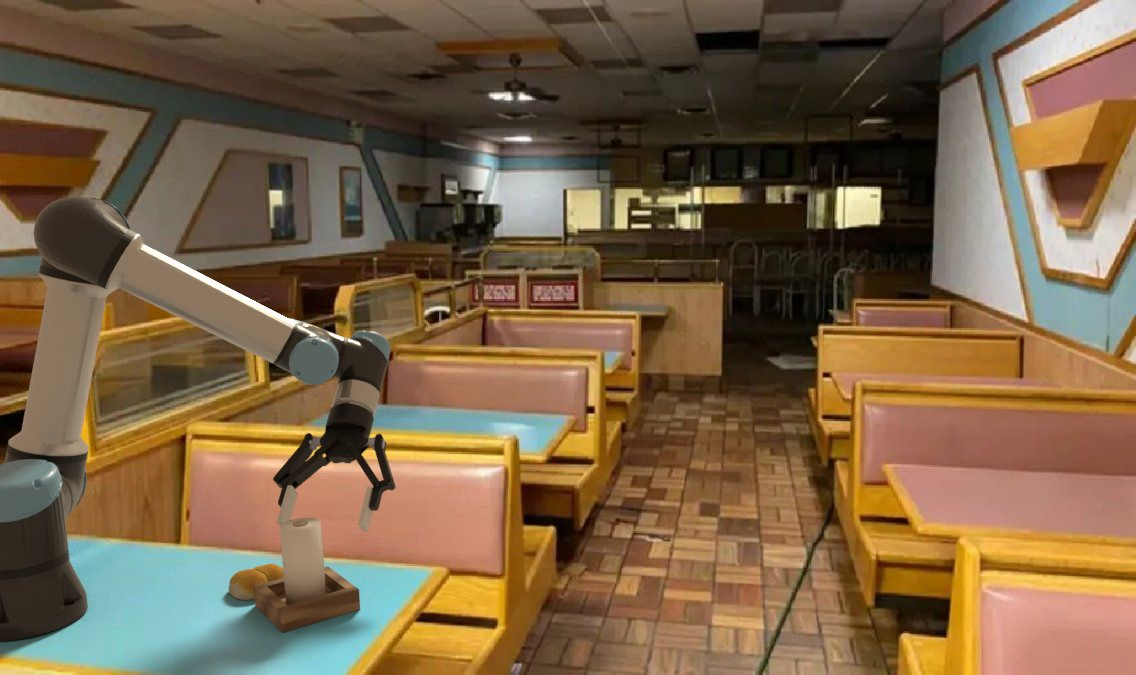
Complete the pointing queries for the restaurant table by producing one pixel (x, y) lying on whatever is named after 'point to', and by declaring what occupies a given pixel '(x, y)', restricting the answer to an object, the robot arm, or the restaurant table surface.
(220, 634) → the restaurant table surface
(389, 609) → the restaurant table surface
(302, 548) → the paper roll
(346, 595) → the tray
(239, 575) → the bread roll
